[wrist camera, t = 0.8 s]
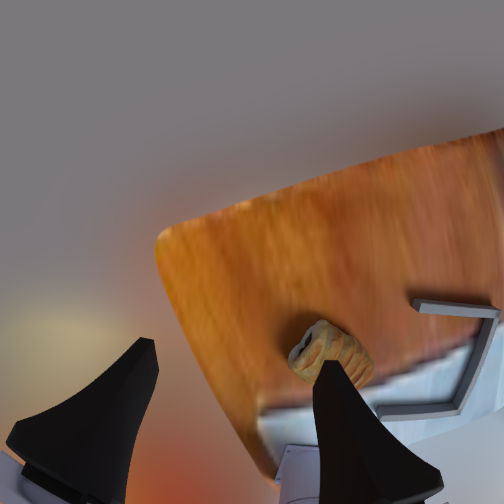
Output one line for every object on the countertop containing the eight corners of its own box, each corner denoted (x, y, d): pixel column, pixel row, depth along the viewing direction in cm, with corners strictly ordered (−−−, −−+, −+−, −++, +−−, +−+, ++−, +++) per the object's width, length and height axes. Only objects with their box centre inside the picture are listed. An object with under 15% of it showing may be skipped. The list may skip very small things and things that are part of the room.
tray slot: (454, 407, 26) (459, 414, 24) (375, 412, 28) (379, 421, 26) (492, 306, 24) (501, 310, 22) (413, 297, 26) (421, 303, 24)
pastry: (384, 351, 27) (394, 367, 23) (347, 395, 28) (353, 414, 24) (316, 311, 28) (320, 325, 24) (281, 360, 29) (279, 378, 25)
